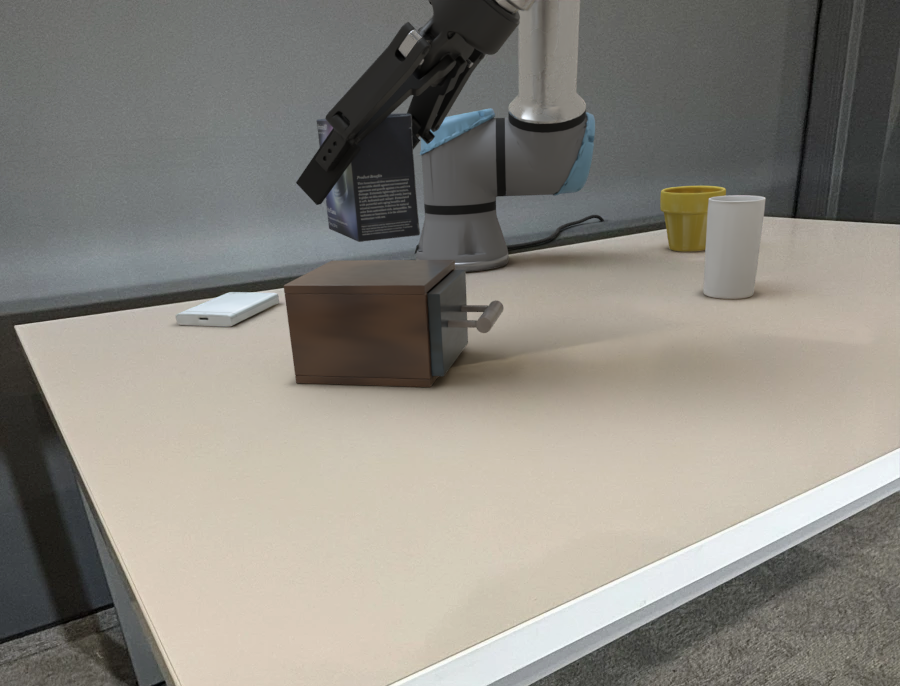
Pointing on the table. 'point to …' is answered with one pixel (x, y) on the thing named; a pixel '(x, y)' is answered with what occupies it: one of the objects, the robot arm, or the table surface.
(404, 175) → the small box
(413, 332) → the cabinet
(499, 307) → the drawer
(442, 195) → the robot arm
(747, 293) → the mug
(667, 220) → the flower pot
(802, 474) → the table surface
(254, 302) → the hard drive
